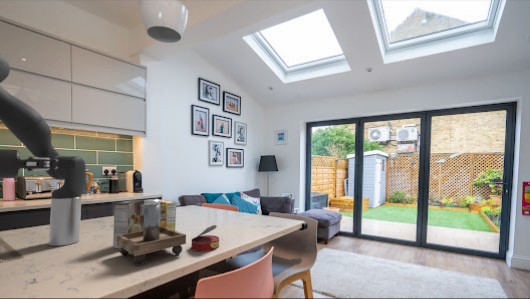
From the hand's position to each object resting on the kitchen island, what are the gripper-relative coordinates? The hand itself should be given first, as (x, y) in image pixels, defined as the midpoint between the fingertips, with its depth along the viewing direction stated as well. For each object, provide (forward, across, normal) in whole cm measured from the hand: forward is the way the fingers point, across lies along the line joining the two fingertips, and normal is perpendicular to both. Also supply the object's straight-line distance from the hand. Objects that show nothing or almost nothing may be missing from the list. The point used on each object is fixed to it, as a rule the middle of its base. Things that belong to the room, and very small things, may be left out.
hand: (71, 164), depth 75 cm
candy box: (+32, +5, +30) cm, 44 cm away
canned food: (+38, -14, +30) cm, 51 cm away
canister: (+21, -8, +25) cm, 34 cm away
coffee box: (+20, +9, +30) cm, 37 cm away
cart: (+21, -8, +30) cm, 38 cm away
